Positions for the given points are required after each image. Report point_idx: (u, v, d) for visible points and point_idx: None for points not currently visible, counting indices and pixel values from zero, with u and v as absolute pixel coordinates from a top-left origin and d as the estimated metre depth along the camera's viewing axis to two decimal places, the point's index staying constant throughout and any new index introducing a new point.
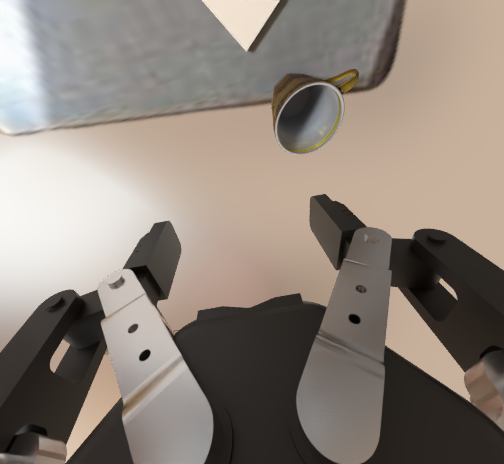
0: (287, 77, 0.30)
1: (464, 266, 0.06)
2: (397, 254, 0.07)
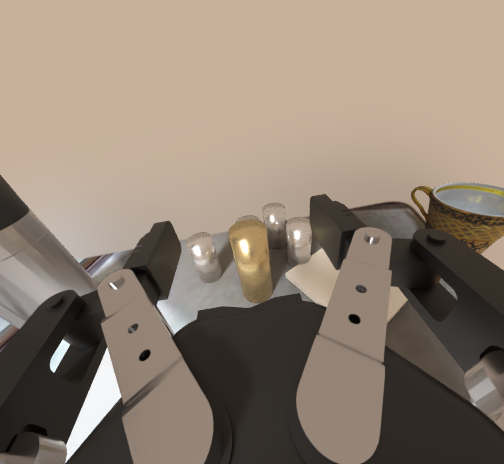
0: None
1: (464, 266, 0.06)
2: (397, 254, 0.07)
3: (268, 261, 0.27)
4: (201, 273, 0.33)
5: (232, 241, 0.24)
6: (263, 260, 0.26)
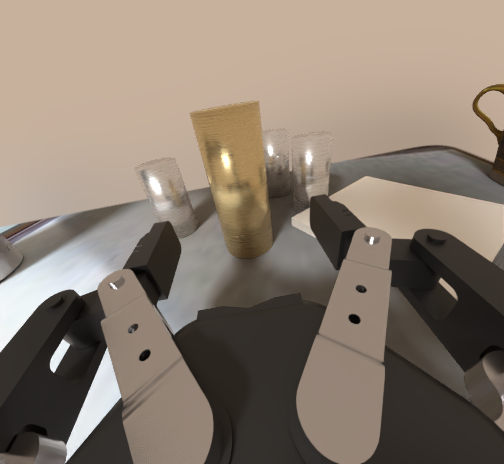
0: None
1: (464, 266, 0.06)
2: (397, 254, 0.07)
3: (264, 176, 0.16)
4: (163, 220, 0.22)
5: (195, 120, 0.13)
6: (254, 165, 0.14)
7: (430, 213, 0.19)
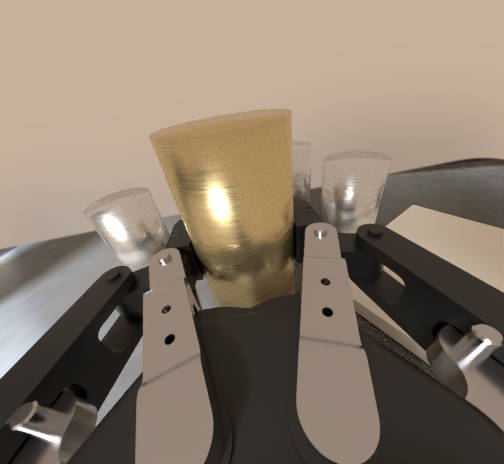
0: None
1: (403, 254, 0.06)
2: (342, 247, 0.08)
3: (292, 241, 0.09)
4: None
5: (158, 151, 0.06)
6: (279, 232, 0.08)
7: None
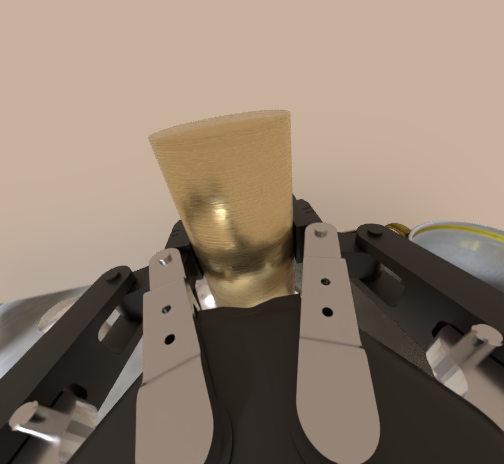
0: None
1: (403, 254, 0.06)
2: (342, 247, 0.08)
3: (291, 242, 0.09)
4: None
5: (157, 153, 0.06)
6: (278, 233, 0.08)
7: None
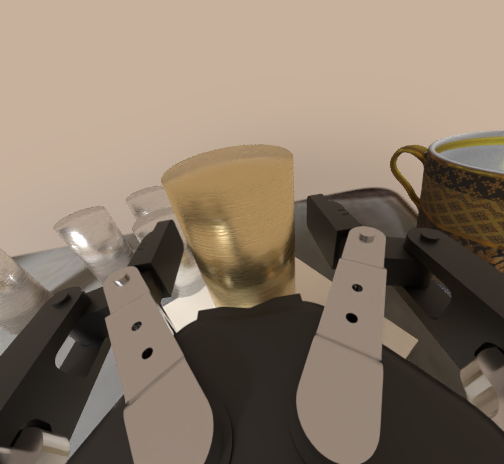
0: None
1: (457, 264, 0.06)
2: (391, 253, 0.07)
3: (293, 267, 0.10)
4: None
5: (170, 198, 0.07)
6: (281, 264, 0.08)
7: None
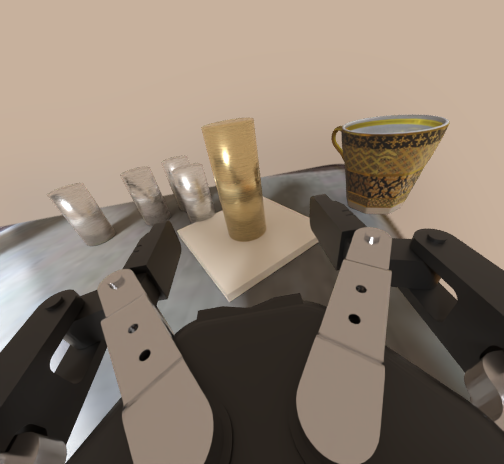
0: (350, 194, 0.27)
1: (464, 266, 0.06)
2: (397, 254, 0.07)
3: (258, 175, 0.20)
4: (77, 232, 0.28)
5: (206, 133, 0.17)
6: (250, 167, 0.19)
7: (269, 229, 0.25)
